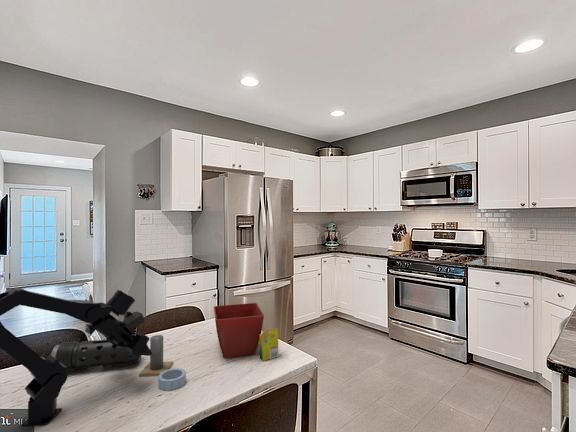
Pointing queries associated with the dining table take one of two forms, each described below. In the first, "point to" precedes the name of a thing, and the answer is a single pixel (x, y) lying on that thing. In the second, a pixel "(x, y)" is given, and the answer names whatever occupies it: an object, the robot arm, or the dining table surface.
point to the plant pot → (238, 328)
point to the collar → (171, 379)
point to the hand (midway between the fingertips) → (143, 350)
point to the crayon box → (268, 344)
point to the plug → (156, 352)
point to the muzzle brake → (92, 354)
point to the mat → (148, 372)
